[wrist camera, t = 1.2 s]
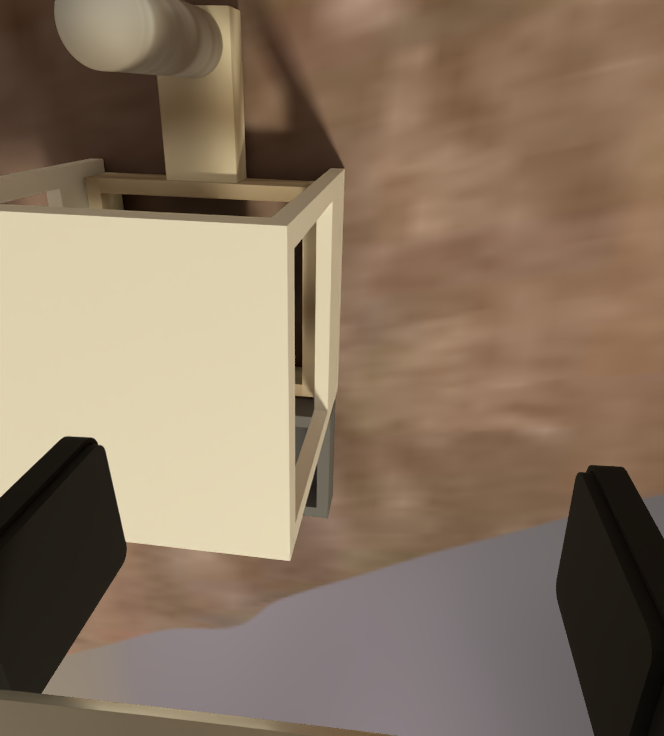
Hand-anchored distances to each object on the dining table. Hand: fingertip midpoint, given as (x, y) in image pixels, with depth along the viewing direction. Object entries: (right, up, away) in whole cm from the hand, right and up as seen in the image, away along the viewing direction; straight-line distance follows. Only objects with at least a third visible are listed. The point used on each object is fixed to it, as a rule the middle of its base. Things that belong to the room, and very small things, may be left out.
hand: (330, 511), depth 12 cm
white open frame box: (-7, +8, +25) cm, 28 cm away
